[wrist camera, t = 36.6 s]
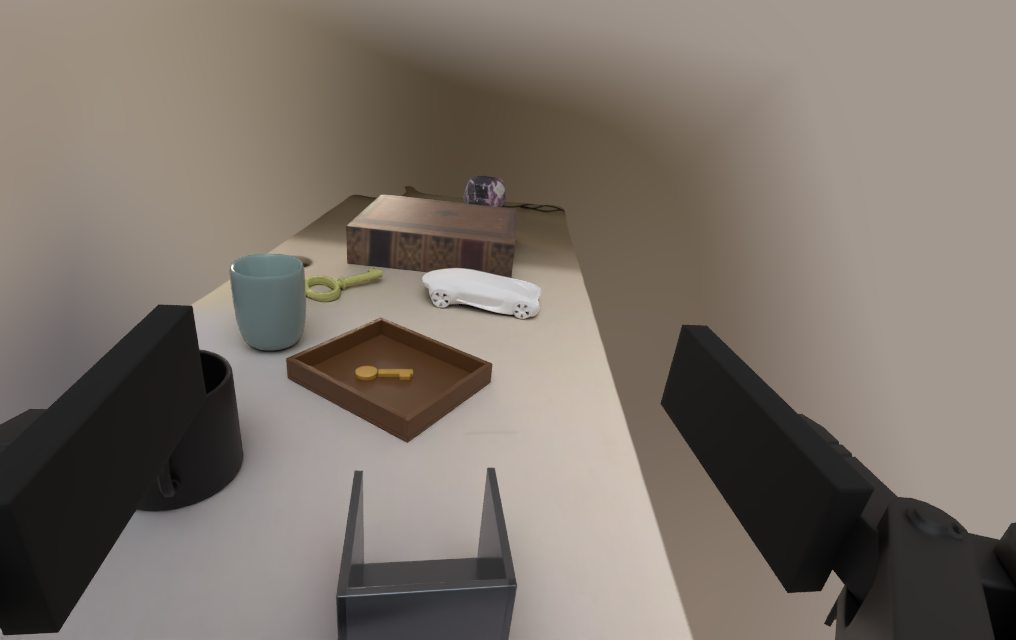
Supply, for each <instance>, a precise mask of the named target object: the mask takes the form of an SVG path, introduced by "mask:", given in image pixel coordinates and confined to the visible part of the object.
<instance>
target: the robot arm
mask: <svg viewBox="0 0 1016 640" xmlns="http://www.w3.org/2000/svg"><path fill="white" fill-rule="evenodd" d="M206 399H207V396H206V389H205V383H204V377H203V371H202V364H201V358H200V352H199V345H198V339H197V333H196V326H195V320H194V314H193V307H192V306H180V305H158V306H157V307H156V308H155V309H153V310H152V311H151V312H150V313H149V314H148V315H147V316H146V317H145V318H144V319H143V320H142V321H141V322H140V323H139V324H137V326H135V327H134V328H133V329H132V330H131V331H130V332H129V333H128V334H127V335H126V336H125V337H124V338H123V339H121V340H120V341H119V342H118V343H117V344H116V345H115V346H114V347H113V348H112V349H111V350H110V351H109V352H108V353H107V354H105V355H104V356H103V357H102V358H101V359H100V360H99V361H98V362H97V363H96V364H95V365H94V366H93V367H92V368H91V369H90V370H88V372H86V373H85V374H84V375H83V376H82V377H81V378H80V379H79V380H78V381H77V382H76V383H75V384H74V385H73V386H71V387H70V388H69V389H68V390H67V391H66V392H65V393H64V394H63V395H62V396H61V397H60V398H59V399H58V400H57V401H55V402H54V403H53V404H52V405H51V406H50V407H49V408H48V409H29V410H27V411H26V412H24V413H22V414H20V415H18V416H16V417H14V418H12V419H10V420H8V421H7V422H5V423H3V424H1V425H0V628H1V630H2V632H3V634H4V635H20V634H39V633H57V632H59V630H60V629H61V627H62V626H63V624H64V623H65V621H66V619H67V618H68V616H69V615H70V613H71V612H72V610H73V608H74V607H75V605H76V604H77V602H78V601H79V599H80V597H81V596H82V594H83V593H84V591H85V590H86V588H87V586H88V585H89V583H90V582H91V580H92V578H93V577H94V575H95V574H96V572H97V571H98V569H99V567H100V566H101V564H102V563H103V561H104V560H105V558H106V556H107V555H108V553H109V552H110V550H111V549H112V547H113V545H114V544H115V542H116V541H117V539H118V538H119V536H120V534H121V533H122V531H123V530H124V528H125V527H126V525H127V523H128V522H129V520H130V519H131V517H132V516H133V514H134V512H135V511H136V509H137V508H138V506H139V504H140V503H141V501H142V500H143V498H144V497H145V495H146V493H147V492H148V490H149V489H150V487H151V486H152V484H153V482H154V481H155V479H156V478H157V476H158V475H159V473H160V471H161V470H162V468H163V467H164V465H165V464H166V462H167V460H168V459H169V457H170V456H171V454H172V453H173V451H174V449H175V448H176V446H177V445H178V443H179V442H180V440H181V438H182V437H183V435H184V434H185V432H186V430H187V429H188V427H189V426H190V424H191V423H192V421H193V419H194V418H195V416H196V415H197V413H198V412H199V410H200V408H201V407H202V405H203V404H204V402H205V401H206ZM661 405H662V406H663V408H664V409H665V411H666V412H667V414H668V415H669V417H670V418H671V420H672V421H673V423H674V424H675V426H676V427H677V429H678V430H679V432H680V433H681V435H682V436H683V438H684V439H685V441H686V442H687V444H688V445H689V447H690V448H691V450H692V451H693V452H694V454H695V456H696V457H697V459H698V460H699V462H700V463H701V465H702V466H703V468H704V469H705V471H706V472H707V473H708V475H709V477H710V478H711V480H712V481H713V482H714V484H715V485H716V487H717V488H718V490H719V491H720V493H721V494H722V496H723V497H724V499H725V500H726V502H727V503H728V505H729V506H730V508H731V509H732V511H733V512H734V514H735V515H736V517H737V518H738V519H739V521H740V522H741V524H742V526H743V527H744V529H745V530H746V532H747V533H748V534H749V536H750V537H751V539H752V541H753V542H754V543H755V545H756V547H757V548H758V549H759V551H760V552H761V554H762V555H763V557H764V558H765V560H766V561H767V563H768V564H769V566H770V567H771V569H772V570H773V571H774V573H775V575H776V576H777V577H778V579H779V581H780V582H781V583H782V585H783V587H784V588H785V590H786V591H787V593H795V592H814V591H821V590H822V588H823V587H824V585H825V583H826V581H827V579H828V577H829V575H830V573H831V571H832V569H833V570H834V572H835V573H836V574H837V576H838V577H839V578H840V579H841V581H842V582H843V583H844V584H845V585H844V587H843V589H842V591H841V593H840V595H839V596H838V598H837V600H836V602H835V604H834V606H833V607H832V609H831V611H830V613H829V615H828V616H827V619H826V621H825V623H824V624H826V625H828V626H831V625H832V623H833V621H834V620H835V619H837V621H836V636H835V640H1016V523H1012V524H1011V525H1010V526H1009V527H1008V529H1007V530H1006V532H1005V533H1004V535H1003V536H1002V538H1001V539H1000V540H998V539H993V538H989V537H984V536H979V535H975V534H971V533H968V532H967V530H966V529H965V528H964V527H963V526H962V525H961V524H960V523H959V522H958V521H957V520H956V519H954V518H953V517H951V516H950V515H948V514H947V513H945V512H944V511H942V510H941V509H939V508H936V507H935V506H932V505H930V504H928V503H926V502H923V501H919V500H916V499H913V498H903V497H897V496H896V495H895V494H894V493H893V492H892V491H891V490H890V489H889V488H887V486H886V485H884V484H883V483H882V482H881V481H880V480H879V479H878V478H877V477H876V476H875V475H874V474H873V473H872V472H871V471H870V470H868V469H867V468H866V467H865V466H864V465H863V464H862V463H861V462H860V461H859V460H858V459H857V458H856V457H852V454H851V453H850V452H849V451H848V450H847V449H846V448H845V447H844V446H843V445H839V441H838V440H837V439H835V438H834V437H833V436H832V435H831V434H830V433H829V432H828V431H827V430H826V429H825V428H824V427H822V426H821V425H819V424H817V423H816V422H814V421H813V420H811V419H809V418H808V417H806V416H804V415H803V414H797V413H796V412H795V411H794V410H793V409H792V408H791V407H790V406H789V405H788V404H787V403H786V402H785V401H784V400H783V399H782V398H781V397H780V396H779V395H778V394H777V393H776V392H775V391H774V390H773V389H771V388H770V387H769V386H768V385H767V384H766V383H765V382H764V381H763V380H762V379H761V378H760V377H759V376H758V375H757V374H756V373H755V372H754V371H753V370H752V369H751V368H750V367H749V366H748V365H747V364H745V362H744V361H743V360H741V359H740V358H739V357H738V356H737V355H736V354H735V353H734V352H733V351H732V350H731V349H730V348H729V347H728V346H727V345H726V344H725V343H724V342H723V341H722V340H721V339H720V338H719V337H718V336H717V335H716V334H715V333H714V332H712V330H711V329H709V328H708V327H707V326H700V325H697V326H696V325H682V328H681V332H680V335H679V339H678V343H677V346H676V350H675V353H674V357H673V361H672V364H671V368H670V371H669V375H668V379H667V382H666V386H665V390H664V393H663V397H662V400H661Z"/></svg>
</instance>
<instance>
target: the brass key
mask: <svg viewBox="0 0 1016 640" xmlns="http://www.w3.org/2000/svg"><path fill="white" fill-rule="evenodd" d="M355 376H356V378H357V379H359V380H364V381H367V380H372V379H374V378H376V377H377V369H376V368H375V367H372V366H362V367H359V368H357V369H356V371H355ZM378 377H399V380H410V377H413V369H379V370H378Z"/></svg>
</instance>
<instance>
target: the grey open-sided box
mask: <svg viewBox="0 0 1016 640" xmlns="http://www.w3.org/2000/svg"><path fill="white" fill-rule="evenodd" d="M516 589H517V583H516V578H515V572H514V567H513V562H512V557H511V551H510V546H509V541H508V536H507V530H506V525H505V520H504V515H503V509H502V504H501V499H500V494H499V488H498V483H497V478H496V473H495V468H487V476H486V485H485V494H484V503H483V511H482V520H481V529H480V538H479V547H478V556H477V558H465V559H446V560H427V561H408V562H389V563H370V564H364V526H363V471H355V472H354V479H353V486H352V493H351V500H350V506H349V513H348V520H347V527H346V534H345V540H344V547H343V554H342V561H341V567H340V574H339V581H338V588H337V595H336V605H337V626H338V640H508V638H509V632H510V626H511V619H512V613H513V607H514V601H515V595H516Z"/></svg>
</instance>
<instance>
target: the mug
mask: <svg viewBox="0 0 1016 640" xmlns="http://www.w3.org/2000/svg"><path fill="white" fill-rule="evenodd" d="M199 352H200V358H201V364H202V371H203V377H204V383H205V389H206V396H207V399H206V401H205V402H204V404H203V405H202V407H201V408H200V410H199V412H198V413H197V415H196V416H195V418H194V419H193V421H192V423H191V424H190V426H189V427H188V429H187V430H186V432H185V434H184V435H183V437H182V438H181V440H180V442H179V443H178V445H177V446H176V448H175V449H174V451H173V453H172V454H171V456H170V457H169V459H168V460H167V462H166V464H165V465H164V467H163V468H162V470H161V471H160V473H159V475H158V476H157V478H156V479H155V481H154V482H153V484H152V486H151V487H150V489H149V490H148V492H147V493H146V495H145V497H144V498H143V500H142V501H141V503H140V504H139V506H138V508H137V509H140V510H150V511H159V510H169V509H175V508H180V507H184V506H187V505H190V504H193V503H196V502H199V501H201V500H203V499H205V498H207V497H209V496H211V495H213V494H215V493H216V492H218V491H219V490H221V489H222V488H223V487H225V486H226V485H227V484H228V483H229V482H230V481H231V480H232V479H233V478H234V477H235V475H236V474H237V472H238V471H239V469H240V467H241V464H242V461H243V448H242V441H241V433H240V426H239V418H238V411H237V403H236V396H235V388H234V380H233V373H232V368H231V366H230V364H229V362H228V361H227V360H226V359H225V358H223V357H222V356H220V355H218V354H215V353H213V352H209V351H205V350H199Z"/></svg>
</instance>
